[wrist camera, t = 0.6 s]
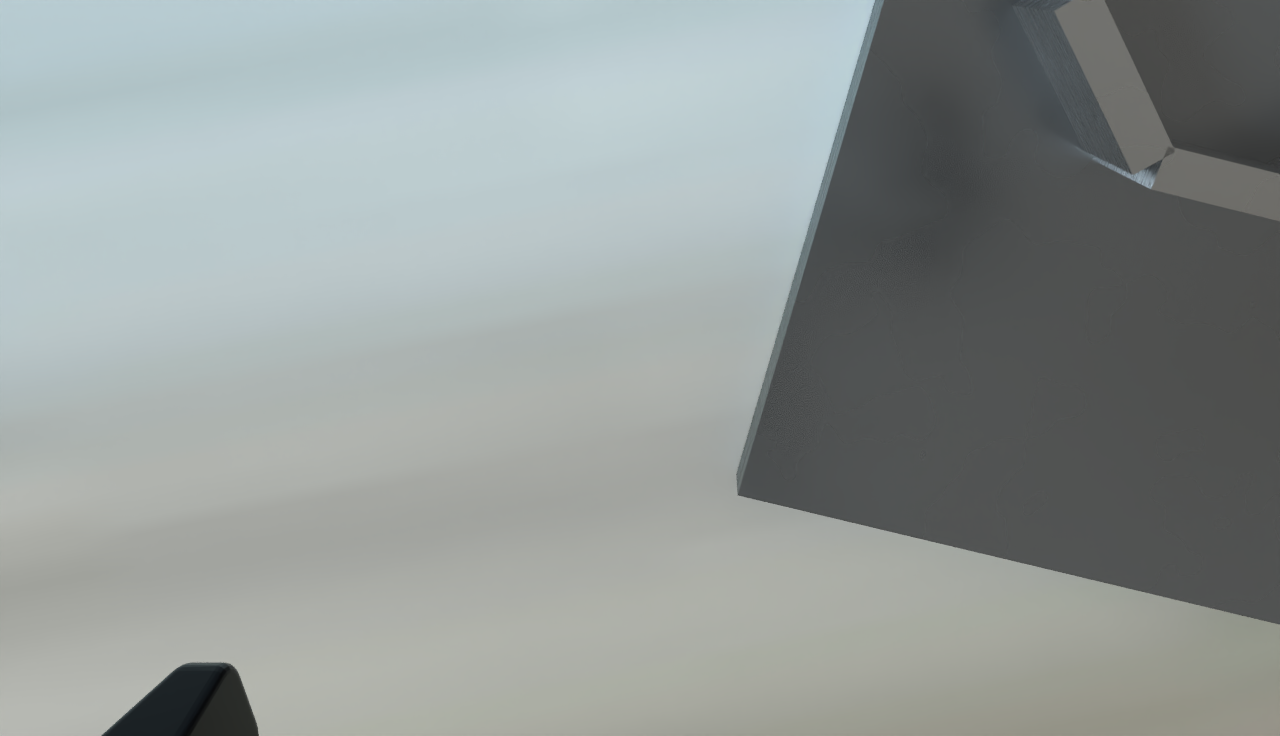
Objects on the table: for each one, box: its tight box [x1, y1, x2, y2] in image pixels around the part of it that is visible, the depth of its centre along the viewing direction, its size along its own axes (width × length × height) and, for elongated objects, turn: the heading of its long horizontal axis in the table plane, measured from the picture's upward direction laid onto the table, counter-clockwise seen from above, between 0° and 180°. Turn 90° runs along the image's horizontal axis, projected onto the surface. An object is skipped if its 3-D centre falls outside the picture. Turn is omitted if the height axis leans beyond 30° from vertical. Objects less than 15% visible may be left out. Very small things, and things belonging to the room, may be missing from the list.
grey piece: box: [736, 0, 1280, 624], centre depth 20 cm, size 16×12×4 cm
